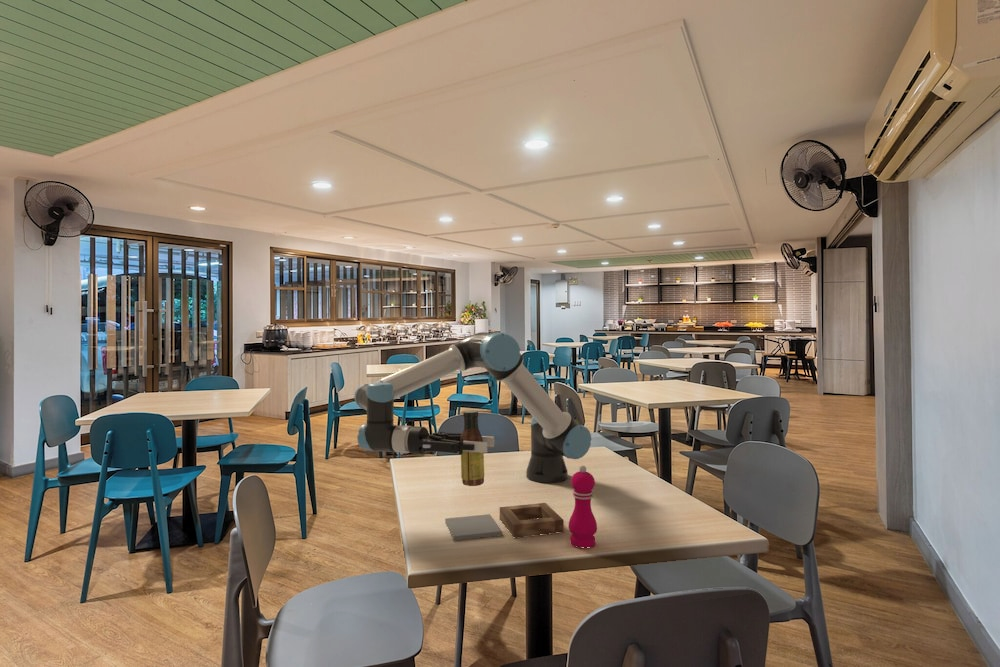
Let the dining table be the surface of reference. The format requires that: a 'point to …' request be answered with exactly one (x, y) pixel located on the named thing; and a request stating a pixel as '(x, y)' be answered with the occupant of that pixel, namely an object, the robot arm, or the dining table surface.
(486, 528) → the slate tile
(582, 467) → the pepper mill
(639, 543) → the dining table surface
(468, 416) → the sauce bottle
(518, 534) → the bottle holder
